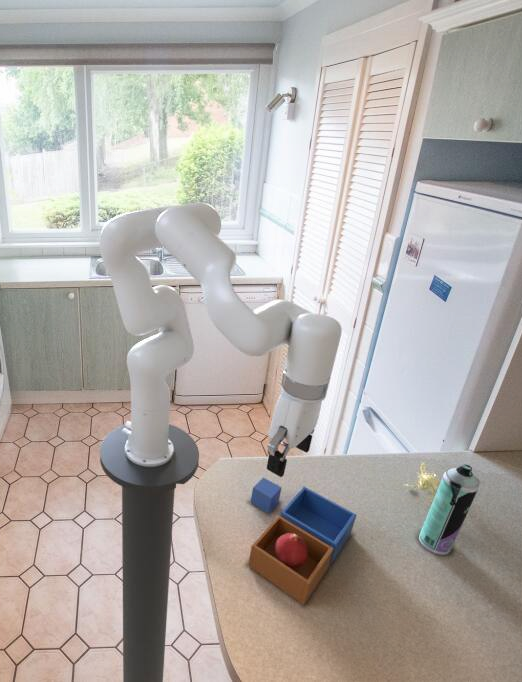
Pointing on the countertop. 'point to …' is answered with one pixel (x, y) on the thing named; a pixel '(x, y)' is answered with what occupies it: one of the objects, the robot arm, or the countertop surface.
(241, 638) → the countertop surface
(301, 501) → the blue bin
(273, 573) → the brown bin
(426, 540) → the spray can
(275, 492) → the blue block
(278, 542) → the onion
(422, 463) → the pale yellow lumpy mass
